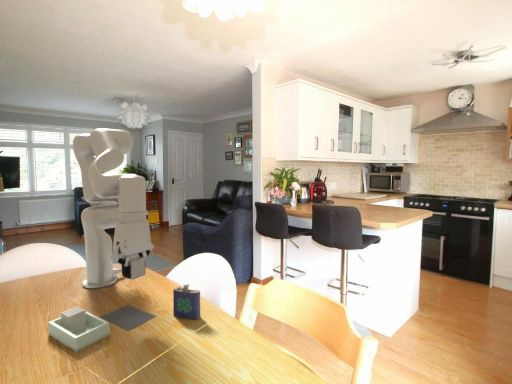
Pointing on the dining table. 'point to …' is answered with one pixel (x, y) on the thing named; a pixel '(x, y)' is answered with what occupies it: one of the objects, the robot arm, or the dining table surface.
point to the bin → (84, 338)
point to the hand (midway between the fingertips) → (134, 274)
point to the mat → (128, 317)
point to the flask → (186, 303)
